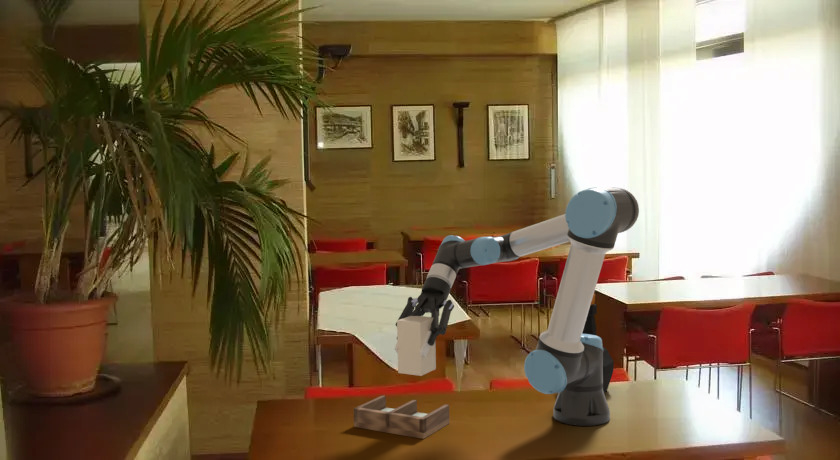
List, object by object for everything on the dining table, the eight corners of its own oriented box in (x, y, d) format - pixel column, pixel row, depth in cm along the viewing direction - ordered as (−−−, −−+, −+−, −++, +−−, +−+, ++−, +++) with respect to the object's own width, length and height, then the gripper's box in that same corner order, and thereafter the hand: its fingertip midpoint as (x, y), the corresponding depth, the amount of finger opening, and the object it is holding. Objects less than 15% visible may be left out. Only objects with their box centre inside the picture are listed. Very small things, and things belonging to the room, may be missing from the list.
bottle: (616, 384, 236) (616, 290, 235) (610, 399, 221) (609, 298, 219) (566, 381, 242) (565, 289, 240) (556, 394, 227) (555, 296, 225)
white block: (435, 368, 201) (434, 317, 200) (421, 375, 194) (419, 322, 193) (413, 366, 204) (412, 315, 203) (398, 372, 197) (396, 320, 196)
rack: (449, 423, 202) (449, 405, 202) (423, 438, 190) (423, 419, 190) (382, 412, 213) (382, 395, 213) (354, 426, 201) (353, 408, 201)
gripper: (475, 294, 206) (448, 364, 193) (412, 290, 216) (383, 357, 203) (466, 277, 201) (438, 348, 188) (402, 273, 211) (372, 341, 198)
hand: (410, 353), depth 196 cm, fingers closed on white block, 7 cm apart
